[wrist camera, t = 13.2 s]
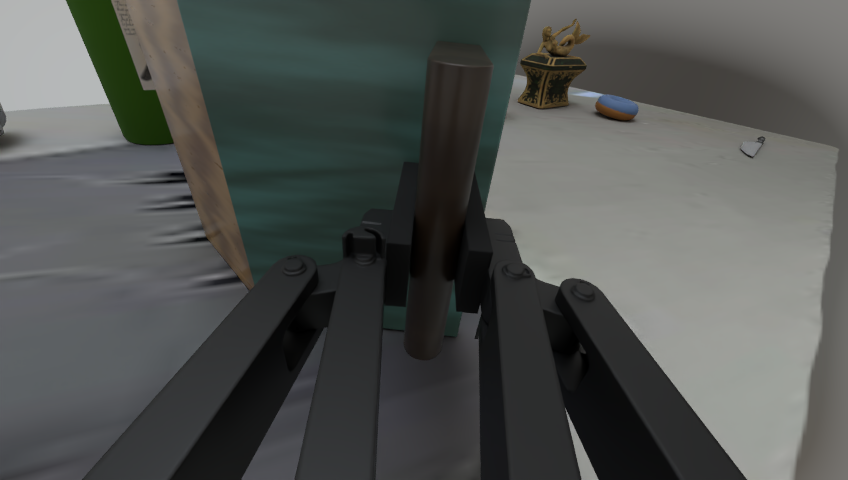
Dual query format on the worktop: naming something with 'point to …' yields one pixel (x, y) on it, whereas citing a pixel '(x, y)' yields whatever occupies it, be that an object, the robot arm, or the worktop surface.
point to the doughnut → (616, 107)
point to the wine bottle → (122, 69)
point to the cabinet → (189, 124)
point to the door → (357, 126)
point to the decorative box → (552, 70)
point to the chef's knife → (752, 146)
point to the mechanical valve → (2, 120)
